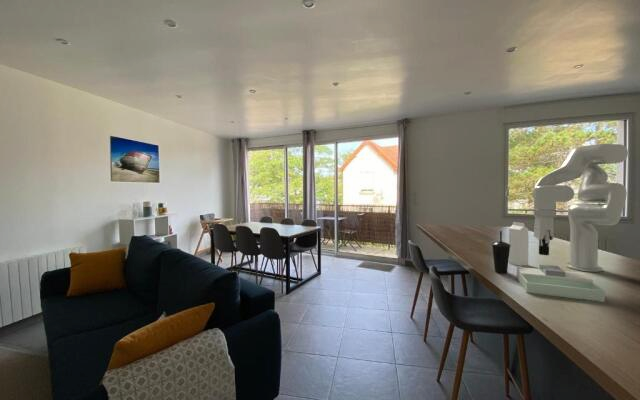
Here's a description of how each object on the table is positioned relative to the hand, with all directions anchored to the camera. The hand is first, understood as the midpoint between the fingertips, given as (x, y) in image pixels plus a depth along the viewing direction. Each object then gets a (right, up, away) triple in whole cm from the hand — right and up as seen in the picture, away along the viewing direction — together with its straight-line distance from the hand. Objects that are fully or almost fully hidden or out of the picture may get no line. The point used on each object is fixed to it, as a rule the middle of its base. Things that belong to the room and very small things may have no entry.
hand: (543, 254), depth 117 cm
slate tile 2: (-5, -6, -10) cm, 13 cm away
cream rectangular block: (-3, -11, -8) cm, 14 cm away
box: (-8, -11, -16) cm, 21 cm away
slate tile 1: (-2, -6, -6) cm, 9 cm away
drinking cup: (-12, -11, +10) cm, 19 cm away
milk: (+5, -10, +21) cm, 24 cm away
